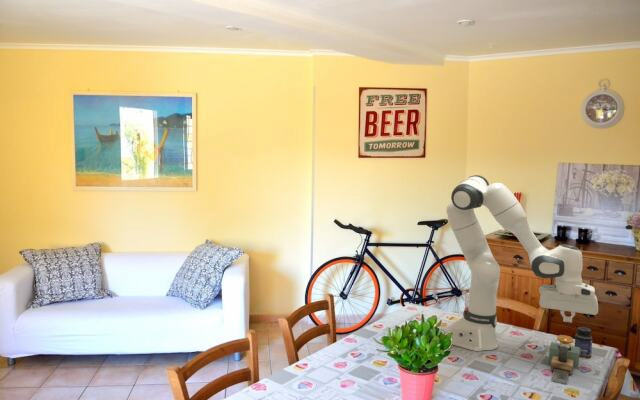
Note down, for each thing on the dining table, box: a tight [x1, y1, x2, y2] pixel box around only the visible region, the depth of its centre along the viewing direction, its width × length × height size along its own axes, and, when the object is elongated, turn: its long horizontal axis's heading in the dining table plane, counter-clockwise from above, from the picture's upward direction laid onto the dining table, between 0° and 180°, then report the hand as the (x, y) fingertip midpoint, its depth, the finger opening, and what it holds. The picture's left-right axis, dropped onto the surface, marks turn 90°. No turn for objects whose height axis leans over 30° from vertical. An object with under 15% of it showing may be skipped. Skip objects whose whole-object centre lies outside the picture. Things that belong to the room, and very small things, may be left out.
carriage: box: [550, 346, 574, 376], centre depth 181 cm, size 7×6×8 cm
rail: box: [551, 367, 570, 386], centre depth 178 cm, size 5×15×2 cm, turn 149°
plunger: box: [556, 334, 574, 351], centre depth 187 cm, size 6×6×6 cm
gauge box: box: [548, 341, 580, 370], centre depth 188 cm, size 10×7×6 cm
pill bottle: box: [574, 326, 593, 359], centre depth 194 cm, size 6×6×11 cm
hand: (567, 321), depth 186 cm, fingers closed
